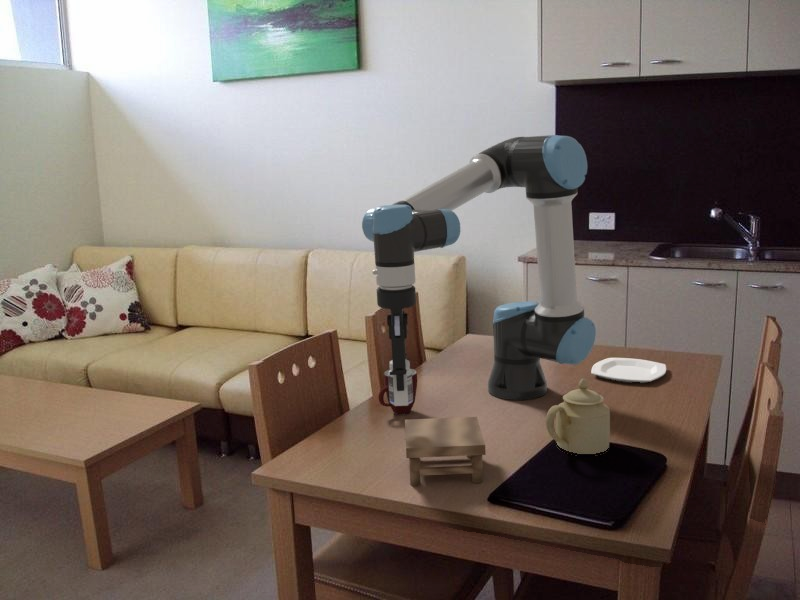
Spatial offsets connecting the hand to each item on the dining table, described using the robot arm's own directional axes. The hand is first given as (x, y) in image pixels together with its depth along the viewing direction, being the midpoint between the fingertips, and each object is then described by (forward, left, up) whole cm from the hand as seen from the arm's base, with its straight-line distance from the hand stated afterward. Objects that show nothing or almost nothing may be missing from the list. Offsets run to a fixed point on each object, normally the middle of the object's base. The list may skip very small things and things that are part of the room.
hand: (401, 400), depth 152 cm
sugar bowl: (-37, -5, -15) cm, 40 cm away
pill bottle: (0, 0, -1) cm, 1 cm away
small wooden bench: (-8, +2, -14) cm, 17 cm away
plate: (-62, -54, -15) cm, 84 cm away
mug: (+1, -31, -15) cm, 34 cm away
